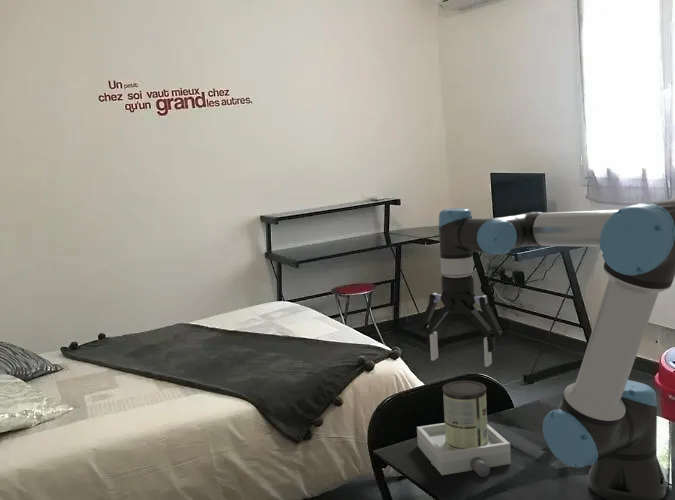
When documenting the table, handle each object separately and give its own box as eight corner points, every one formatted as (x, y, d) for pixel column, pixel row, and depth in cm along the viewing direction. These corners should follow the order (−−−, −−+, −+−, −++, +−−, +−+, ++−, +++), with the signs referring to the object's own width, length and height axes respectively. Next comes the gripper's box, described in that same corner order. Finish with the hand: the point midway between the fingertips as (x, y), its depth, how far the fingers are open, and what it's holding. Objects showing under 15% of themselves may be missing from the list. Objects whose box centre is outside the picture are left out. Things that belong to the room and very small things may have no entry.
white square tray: (518, 471, 158) (518, 450, 157) (448, 483, 155) (447, 461, 154) (480, 436, 178) (480, 417, 178) (417, 445, 175) (416, 426, 174)
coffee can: (443, 435, 173) (441, 380, 171) (485, 434, 172) (483, 379, 170) (446, 453, 163) (443, 395, 161) (490, 452, 162) (488, 394, 160)
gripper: (514, 273, 160) (517, 362, 163) (415, 269, 173) (420, 352, 176) (503, 279, 153) (506, 372, 156) (402, 275, 167) (406, 360, 169)
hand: (460, 362), depth 166 cm, fingers open, 13 cm apart
